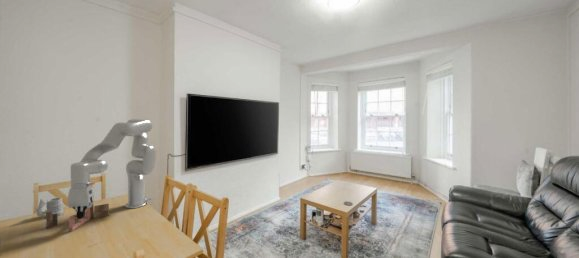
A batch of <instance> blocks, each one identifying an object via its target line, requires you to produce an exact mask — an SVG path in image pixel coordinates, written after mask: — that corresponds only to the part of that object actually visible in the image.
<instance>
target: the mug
mask: <svg viewBox="0 0 579 258" xmlns="http://www.w3.org/2000/svg"><path fill="white" fill-rule="evenodd" d="M45 205H46V210H44V211H43V210H42V208H43V207H44V206H45ZM63 205H64V202H63V198H62V197H53V198H49V199H47V201H44V200H43V199H42V198H41V199H40V201H39V203H38V206H37V208H36V211H35V212H36V215H37V216H38V217H39V218H43V217H44V216H46V213H47V212H52V213H53V214H56V213H57V217H60V216H62V215H63V214H64V212H65V210H64V207H63Z"/></svg>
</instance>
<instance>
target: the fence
mask: <svg viewBox="0 0 579 258" xmlns="http://www.w3.org/2000/svg"><path fill="white" fill-rule="evenodd" d="M109 205H110V204H109V203H104V204H98V205H94V204H93V203H92V207H90V219H89V220H88V221H91V220H94V219H98V218H102V217H107V216H109V215H110V214H109V213H110V212H109V211H110V210H109V207H110V206H109ZM45 219H46V220H45V225H46V229H48V230H49V229H51V228H53V227H54V226H58V223H59V222H58V221H59V220H58V219H59V217H58V216H57V213H56V214H53V213H52V212H47V213H46V214H45Z"/></svg>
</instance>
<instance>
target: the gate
mask: <svg viewBox="0 0 579 258" xmlns="http://www.w3.org/2000/svg"><path fill="white" fill-rule="evenodd" d="M76 219H77V212H75V213H74V214H73V215H71V216H69V217H68V229H69V230H68V231H74V230H75V229H77V228H78V227H80V226H82V225H83V224H85V223H86V222H88V221H90V220H89V219H90V208H87V209H86V210H85V217H83V218H82V219H78V222H77V223H76V222H75V221H76Z"/></svg>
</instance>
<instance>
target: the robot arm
mask: <svg viewBox="0 0 579 258" xmlns="http://www.w3.org/2000/svg"><path fill="white" fill-rule="evenodd" d="M152 129H153V122H151V120H149V119H142V118H141V119H140V118H131V119H129V120H128V121H126V122H117V123H116V122H115V124H114V125H113V126H112V127H111V129H109V131H108V133H107V134H106V136H105V137H104V138H103V140H102V141H101V142H100V143H97V145H95V146H93V147H92V148H90V149H89V150H88V151H87V152H86V153H85V155H84V156H83V157H82V159H81V160H80V162H73V163H72V164H70V188H69V191H68V194H67V195H68V196H67V204H68V208H69V209H73V210H74V212H75V213H77V218H76V219H77V220H79V219H82V220H83V219H84V218H85V210H86V209H87V208H90V207H92V204H93V203H94V202H95V195H94V190H93V187H92V185H93V183H92V182H91V181H90V180H91V179H90V175H94V174H95V175H96V174H102V173H104V172H106V170H107V169H108V167H109V164H108V163H107V162H106V161H105V160H102V159H100V157H101V156H103V155H105V154H106V153H109V152H112V151H114V150H117V149H119V146H120V145H121V143H122V142H123V140H124V139H125V138H126V137H133V142H132V147H131V156H132V157H133V158H136V159H133V160H130V161H128V163H127V164H126V165H125V166H126V167H125V169H126V174H127V190H128V191H127V203H126V204H125V205H124V207H125V208H127V209H137V208H142V207H144V206H146V205H147V204H148V201H153V197H151V196H147V197H145V195H146V193H145V183H146V182H145V179H146V178H145V176H149V175H151V174H152V173H153V172H154V169H155V165H156V159H157V149H156V147H155V146H154V145H148V144H149V143H148V142H149V136H148V133H149V132H150V131H152ZM145 202H146V203H147V204H146V203H145Z"/></svg>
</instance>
